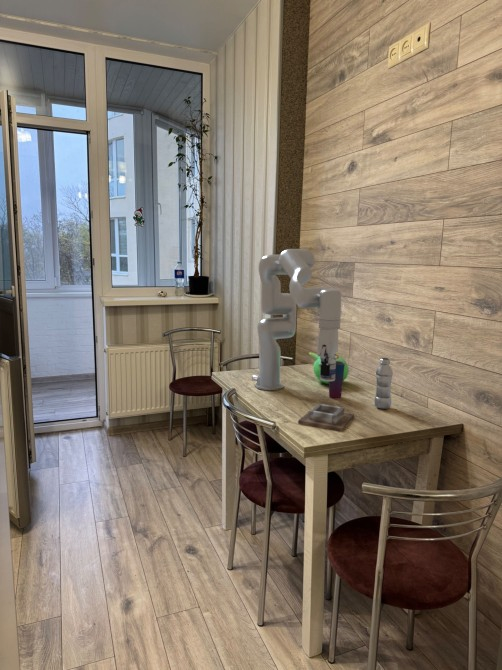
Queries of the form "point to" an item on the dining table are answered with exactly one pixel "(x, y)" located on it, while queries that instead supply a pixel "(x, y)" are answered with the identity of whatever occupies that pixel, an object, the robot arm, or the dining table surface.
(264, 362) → the robot arm
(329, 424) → the square frame tray
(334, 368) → the pill bottle
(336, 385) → the cup
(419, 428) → the dining table surface
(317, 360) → the green round vessel
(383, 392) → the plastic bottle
